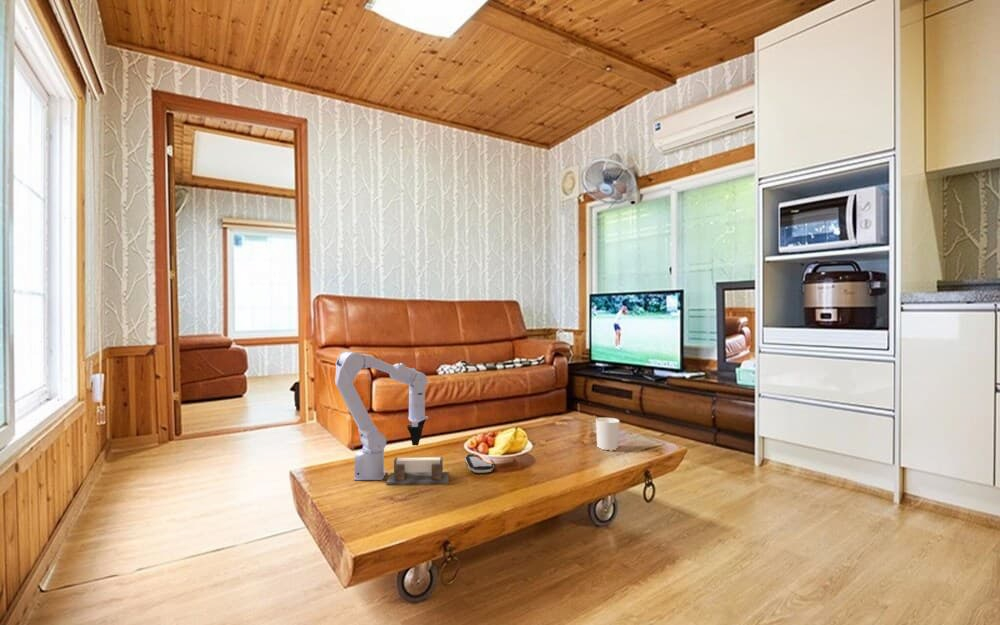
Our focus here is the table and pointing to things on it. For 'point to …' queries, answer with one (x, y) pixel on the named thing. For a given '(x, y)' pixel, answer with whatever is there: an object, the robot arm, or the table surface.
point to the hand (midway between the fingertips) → (416, 442)
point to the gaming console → (478, 465)
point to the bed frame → (417, 476)
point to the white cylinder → (607, 433)
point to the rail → (419, 464)
